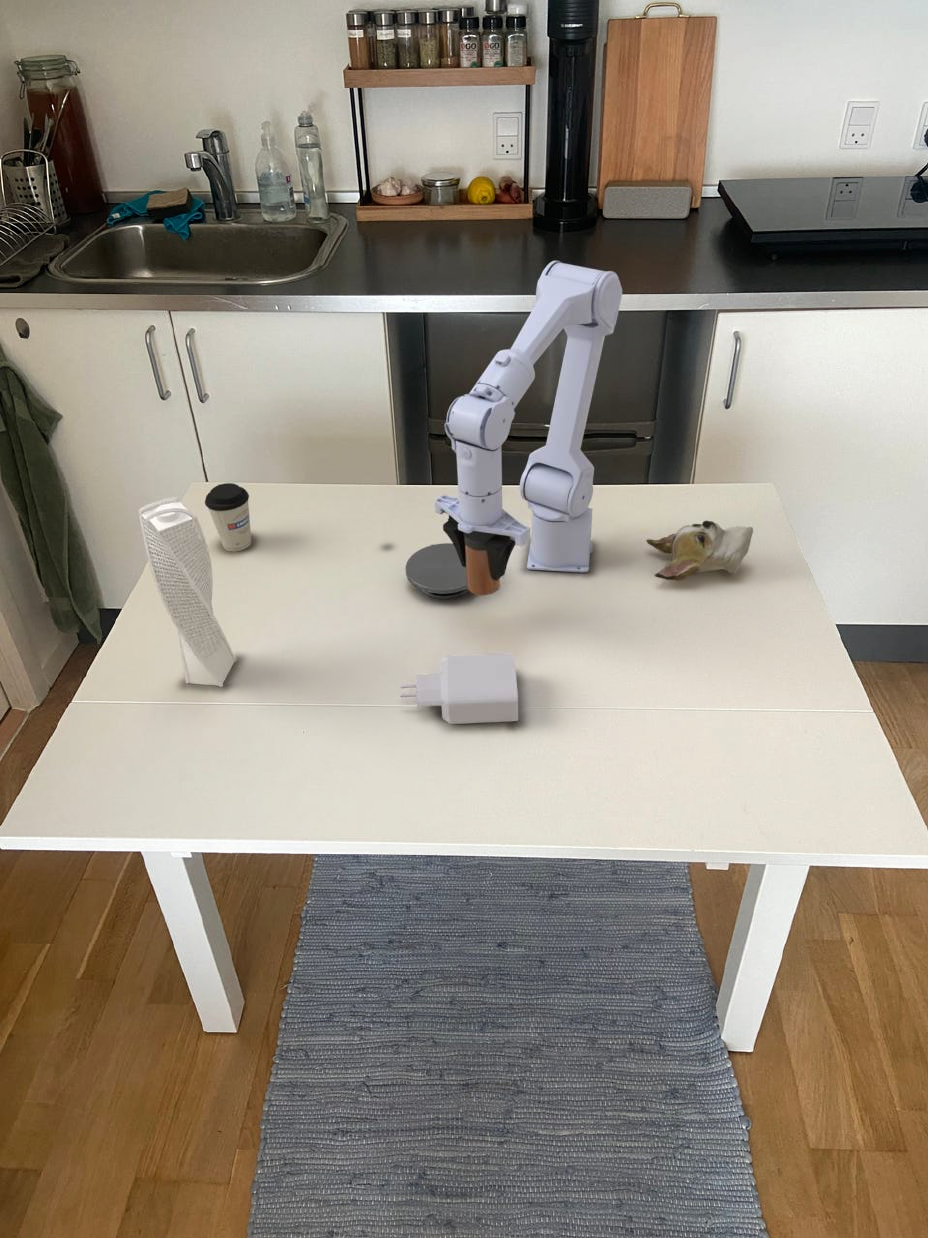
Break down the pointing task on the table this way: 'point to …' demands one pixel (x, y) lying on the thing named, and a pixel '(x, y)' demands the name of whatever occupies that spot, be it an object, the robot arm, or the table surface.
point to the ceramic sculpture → (703, 549)
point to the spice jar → (479, 564)
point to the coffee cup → (230, 515)
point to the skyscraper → (186, 589)
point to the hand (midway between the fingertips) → (482, 569)
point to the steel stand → (437, 572)
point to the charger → (471, 688)
